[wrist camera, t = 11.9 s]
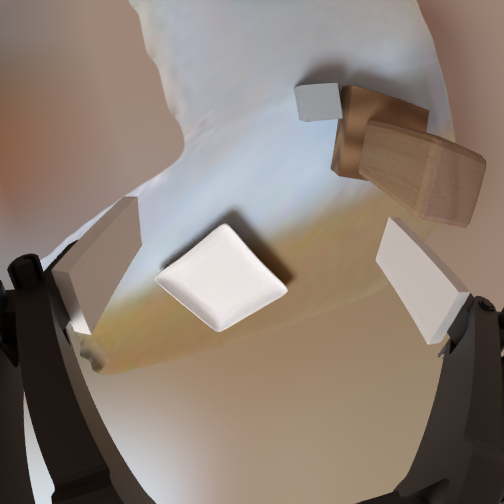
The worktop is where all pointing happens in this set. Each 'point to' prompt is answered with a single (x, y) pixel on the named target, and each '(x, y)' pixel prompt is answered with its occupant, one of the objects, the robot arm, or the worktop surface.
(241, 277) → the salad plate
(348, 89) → the plinth
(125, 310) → the worktop surface
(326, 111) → the slate cube
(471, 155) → the block
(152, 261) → the worktop surface
